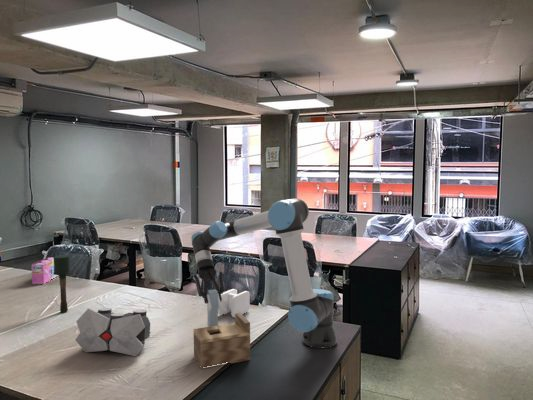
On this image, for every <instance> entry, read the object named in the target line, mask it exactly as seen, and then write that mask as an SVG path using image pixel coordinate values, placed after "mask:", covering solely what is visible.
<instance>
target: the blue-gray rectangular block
mask: <svg viewBox="0 0 533 400" xmlns="http://www.w3.org/2000/svg"><path fill="white" fill-rule="evenodd" d="M208 294H209V298H210V303H211V307H212V309H211V311H209V310H208V305H207V307H206V308H207V327H211V326H217V325H219V314H218V291H217V290H216V289H214V288H213V289H207V295H208Z"/></svg>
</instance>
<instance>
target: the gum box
mask: <svg viewBox="0 0 533 400" xmlns="http://www.w3.org/2000/svg"><path fill="white" fill-rule="evenodd" d="M53 273H54V257H52V256H47V257H46V258H43V259H42V260H38V261H36V262H34V263H32V264H31V281H32V282H31V285H32V284H44V285H46V284H47V283H46V282H48V281H49V282H51V281H52V280H51V279H53V278H55V277H56V276H59V275H54V274H53ZM55 279H56V278H55ZM50 280H51V281H50ZM53 280H54V279H53ZM49 282H48V283H49ZM45 283H46V284H45Z"/></svg>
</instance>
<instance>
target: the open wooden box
mask: <svg viewBox="0 0 533 400" xmlns="http://www.w3.org/2000/svg"><path fill="white" fill-rule="evenodd" d="M209 334H210V335H214V334H220V333H219V332H213V333H209ZM193 358H194V359H195V358H196V359H195V361H196V360H197V361H198V363H199V364H198V363H197V364H198V366H199V365H200V366H201V368H203V367H207V366H212V365H217V364H222V363H226V362H230V363H231V364H234V363H235V364H236V363H240V362H245V361H250V360H251V334H250V335H248V336H242V337H236V338H230V339H225V340H219V341H213V342H207V343H200V341H199V340H198V338H197V337H196V335H195V334H194V333H193ZM197 361H196V362H197ZM200 366H199V367H200ZM201 368H200V369H201Z"/></svg>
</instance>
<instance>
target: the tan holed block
mask: <svg viewBox="0 0 533 400" xmlns="http://www.w3.org/2000/svg"><path fill="white" fill-rule="evenodd" d="M234 318H235V319H234V320H235V321H234V322H231V323H226V324H218V325H217V326H211V327H208V326H205V327H200V328H199V327H198V328H193V335H194V334H195V335H196V337H197V338H198V340H199V341H200V343H207V342H213V341H219V340H225V339H230V338H236V337H242V336H248V335H250V336H251V322H250V321H249V320H248V319H247V318H246V316H244V314H241V313H235V317H234ZM213 332H219V333H220V334H214V335H210V334H209V333H213Z"/></svg>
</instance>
